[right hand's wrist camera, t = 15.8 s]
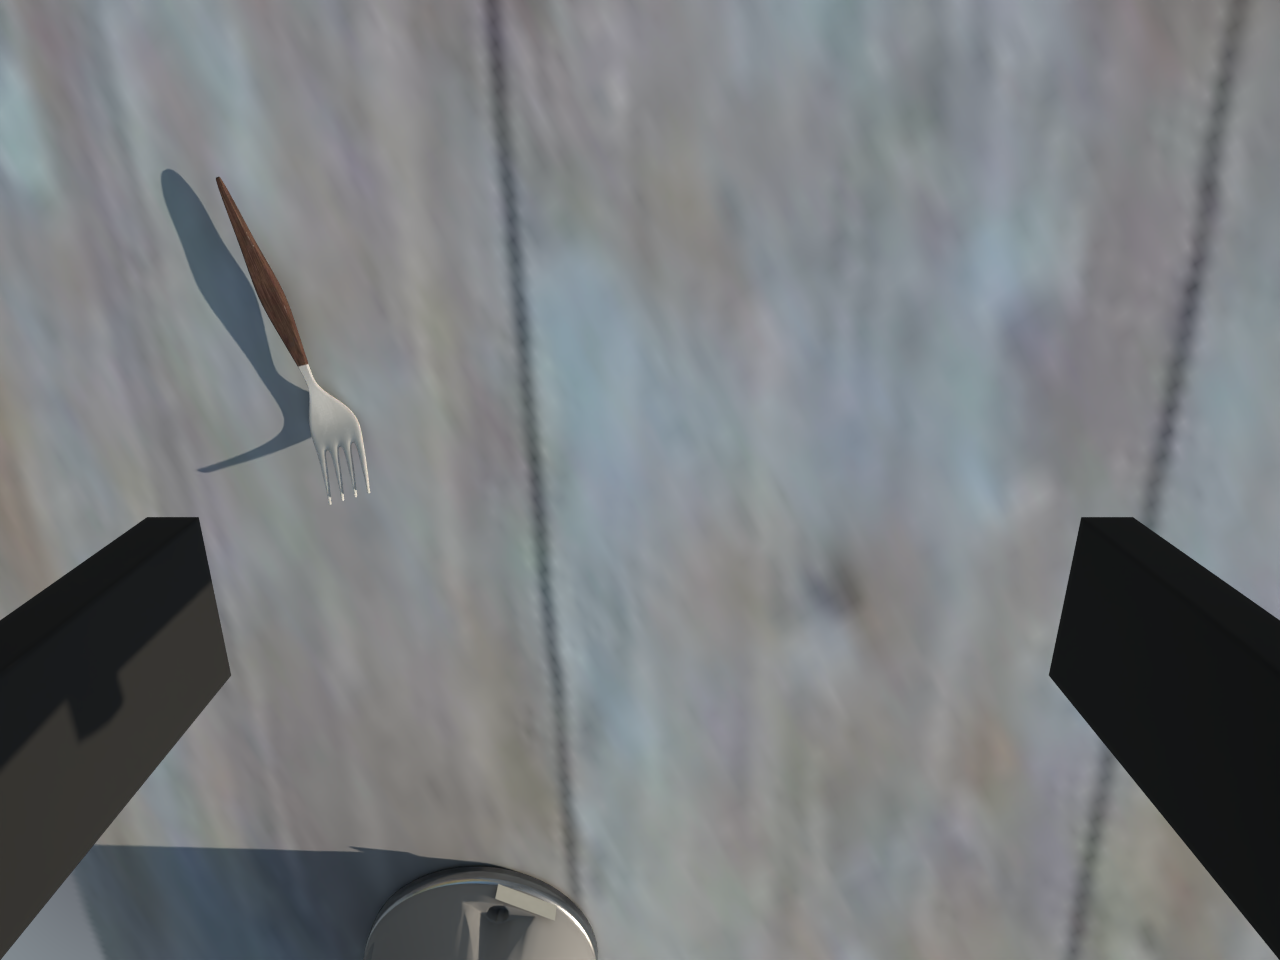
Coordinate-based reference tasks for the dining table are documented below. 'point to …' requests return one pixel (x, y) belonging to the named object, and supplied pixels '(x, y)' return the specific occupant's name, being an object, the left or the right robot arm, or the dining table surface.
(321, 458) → the fork
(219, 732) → the dining table surface
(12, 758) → the right robot arm
